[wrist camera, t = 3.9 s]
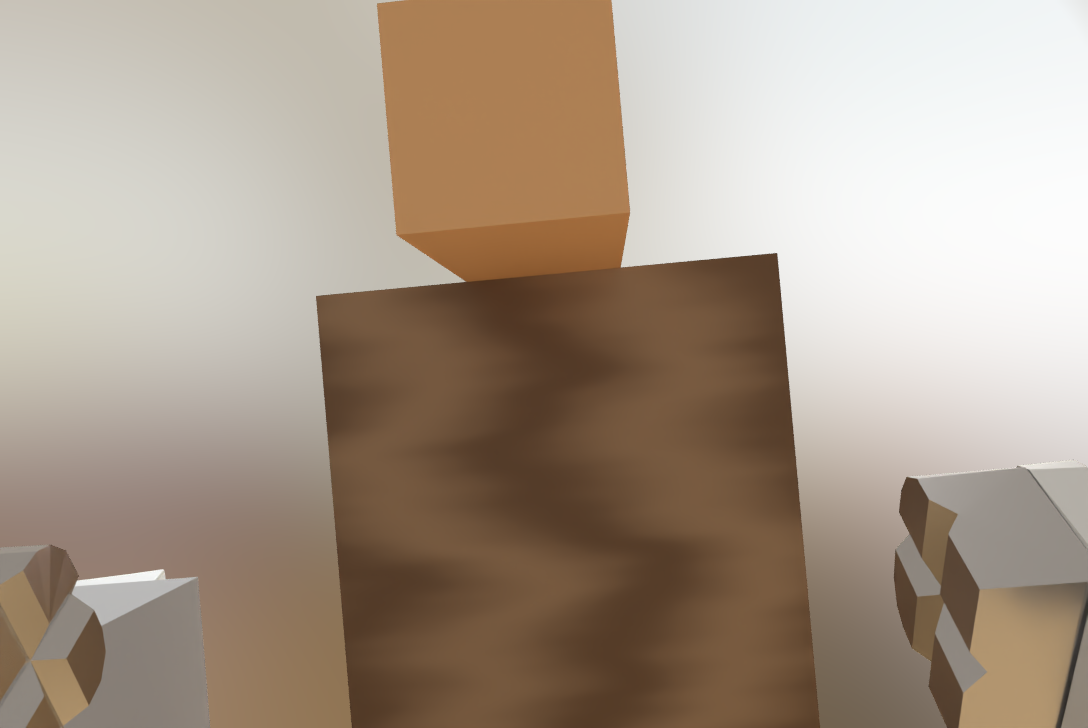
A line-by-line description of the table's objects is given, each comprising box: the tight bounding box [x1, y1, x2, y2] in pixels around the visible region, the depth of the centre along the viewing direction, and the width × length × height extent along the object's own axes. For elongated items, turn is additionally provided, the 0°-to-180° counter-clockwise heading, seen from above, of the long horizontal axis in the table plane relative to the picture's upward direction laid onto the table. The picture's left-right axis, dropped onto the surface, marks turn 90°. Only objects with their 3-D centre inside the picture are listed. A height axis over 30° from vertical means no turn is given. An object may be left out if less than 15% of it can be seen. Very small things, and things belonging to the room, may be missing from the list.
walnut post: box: [316, 253, 820, 728], centre depth 31 cm, size 12×12×26 cm
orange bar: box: [377, 0, 630, 282], centre depth 28 cm, size 4×24×4 cm, turn 176°
